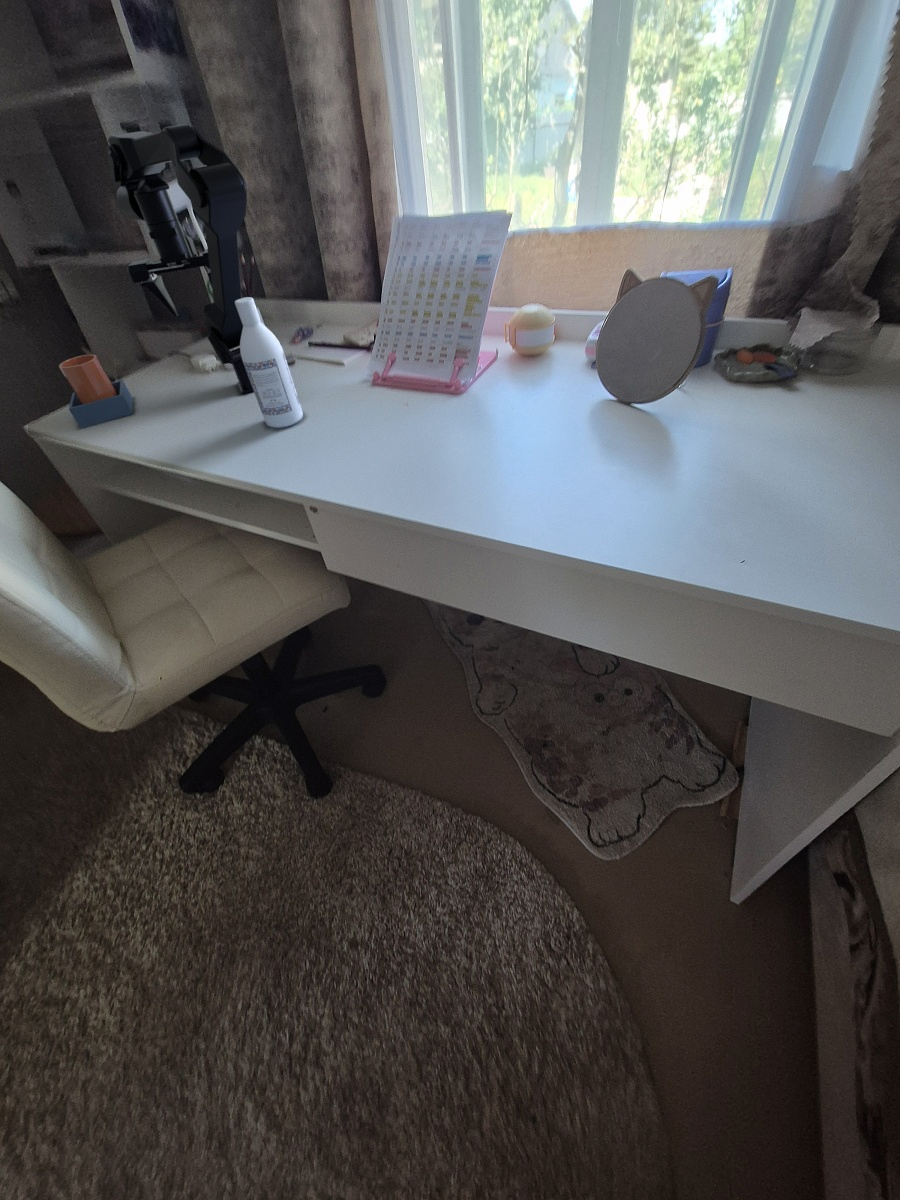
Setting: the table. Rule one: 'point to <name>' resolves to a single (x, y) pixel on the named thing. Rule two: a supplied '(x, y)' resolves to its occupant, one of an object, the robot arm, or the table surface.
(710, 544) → the table surface
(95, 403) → the tub
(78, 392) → the cup
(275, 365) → the bath foam
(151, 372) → the table surface
